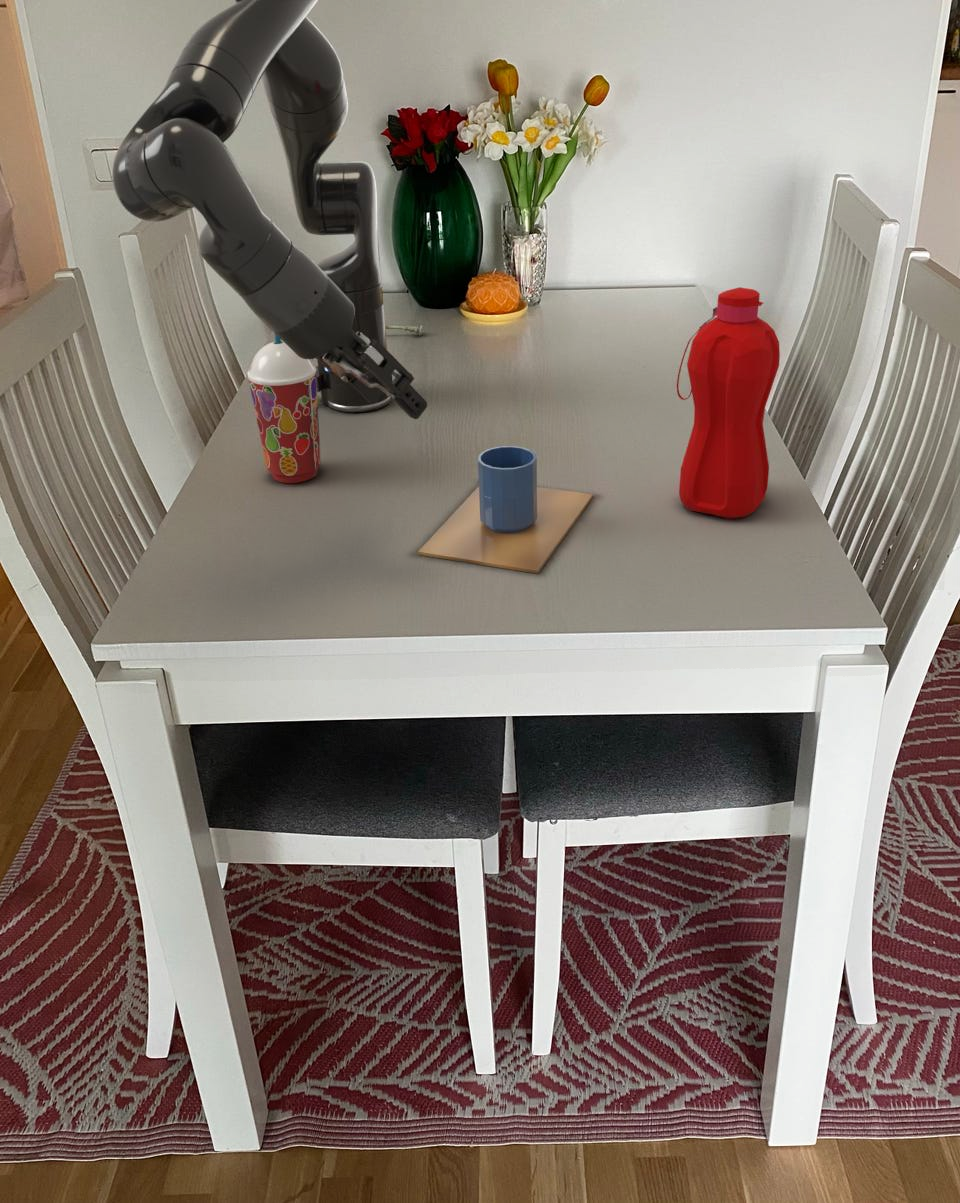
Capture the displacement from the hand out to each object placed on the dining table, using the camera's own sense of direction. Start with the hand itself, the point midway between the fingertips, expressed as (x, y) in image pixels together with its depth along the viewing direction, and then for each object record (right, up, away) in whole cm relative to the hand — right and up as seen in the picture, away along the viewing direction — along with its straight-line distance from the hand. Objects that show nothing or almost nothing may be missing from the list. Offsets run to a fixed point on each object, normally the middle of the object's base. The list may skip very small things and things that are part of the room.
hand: (399, 404), depth 121 cm
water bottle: (+36, -9, +14) cm, 40 cm away
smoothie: (-15, -5, +25) cm, 30 cm away
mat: (+12, -12, +11) cm, 20 cm away
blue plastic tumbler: (+12, -12, +11) cm, 20 cm away
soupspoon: (-12, +24, +74) cm, 79 cm away
